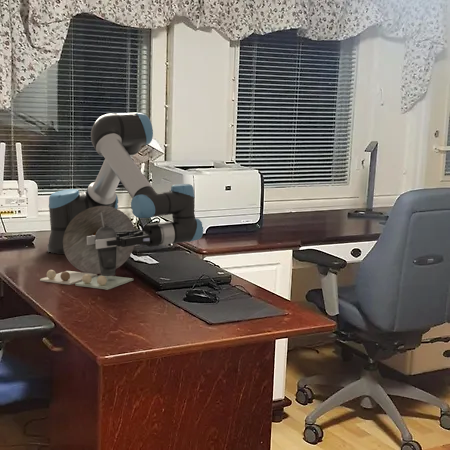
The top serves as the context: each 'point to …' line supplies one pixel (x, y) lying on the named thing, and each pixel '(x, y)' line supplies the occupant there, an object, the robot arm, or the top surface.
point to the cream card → (71, 280)
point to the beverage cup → (106, 251)
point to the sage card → (108, 284)
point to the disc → (88, 226)
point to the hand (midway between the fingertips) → (91, 242)
